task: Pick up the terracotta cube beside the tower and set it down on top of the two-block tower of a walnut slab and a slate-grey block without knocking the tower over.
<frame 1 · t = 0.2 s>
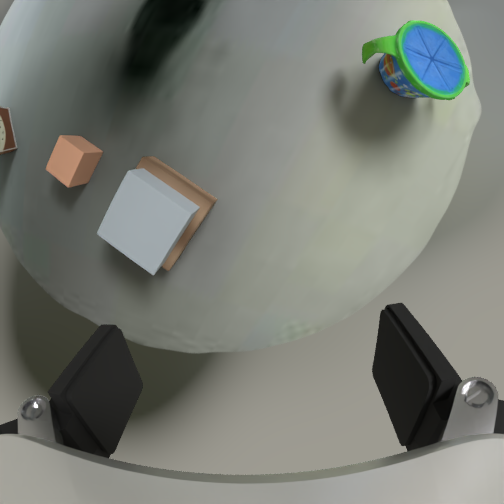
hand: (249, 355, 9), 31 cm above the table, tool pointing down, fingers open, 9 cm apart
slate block: (153, 216, 36), point 4 cm above the table, touching walnut slab
walnut slab: (165, 209, 40), on the table, touching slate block
terracotta cube: (84, 159, 37), on the table
food container: (5, 135, 35), on the table
snack cup: (400, 75, 32), on the table
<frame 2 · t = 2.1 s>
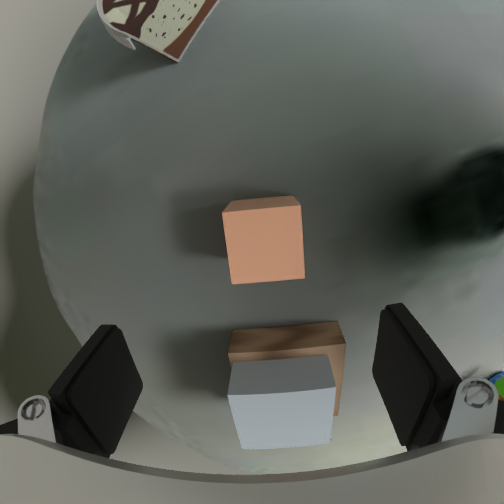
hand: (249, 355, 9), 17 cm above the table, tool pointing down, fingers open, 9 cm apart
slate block: (282, 391, 27), point 4 cm above the table, touching walnut slab
walnut slab: (287, 362, 31), on the table, touching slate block
terracotta cube: (265, 227, 26), on the table
food container: (176, 16, 20), on the table
snack cup: (490, 385, 33), on the table
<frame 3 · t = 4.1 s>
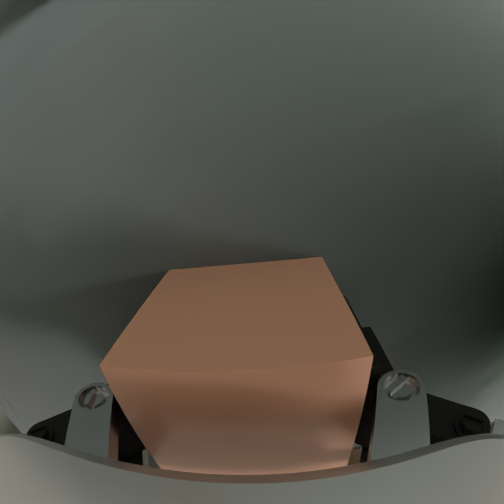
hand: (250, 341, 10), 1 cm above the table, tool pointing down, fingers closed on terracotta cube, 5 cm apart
terracotta cube: (251, 329, 11), on the table, touching gripper
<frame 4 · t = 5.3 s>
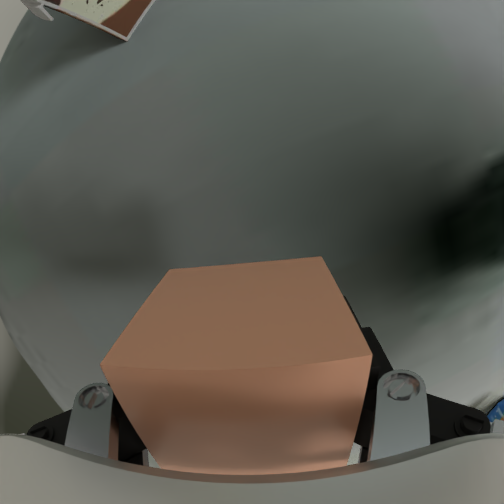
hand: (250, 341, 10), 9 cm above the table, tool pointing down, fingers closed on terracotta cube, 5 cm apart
terracotta cube: (251, 328, 11), point 8 cm above the table, touching gripper
snack cup: (497, 408, 28), on the table
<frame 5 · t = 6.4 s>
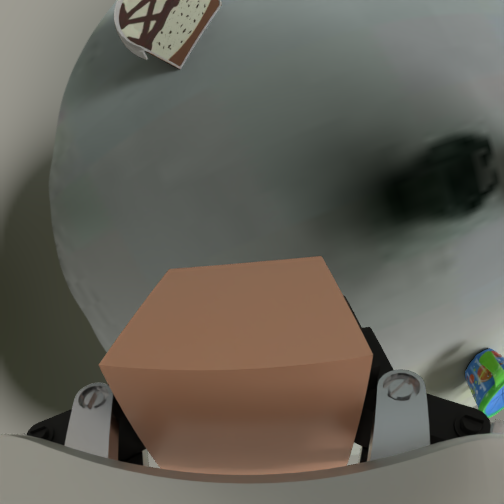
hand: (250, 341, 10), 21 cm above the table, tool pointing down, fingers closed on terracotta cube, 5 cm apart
terracotta cube: (251, 328, 11), point 21 cm above the table, touching gripper
food container: (178, 29, 24), on the table
snack cup: (478, 362, 37), on the table
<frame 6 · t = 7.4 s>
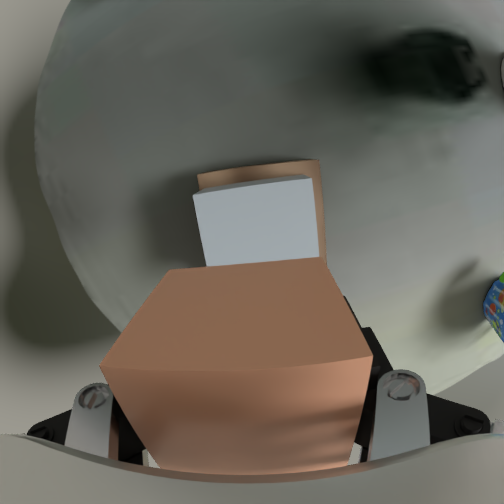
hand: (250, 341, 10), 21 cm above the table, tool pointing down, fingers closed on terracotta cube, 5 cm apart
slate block: (260, 229, 27), point 4 cm above the table, touching walnut slab
walnut slab: (264, 215, 31), on the table, touching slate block
terracotta cube: (251, 329, 11), point 21 cm above the table, touching gripper
snack cup: (496, 296, 33), on the table
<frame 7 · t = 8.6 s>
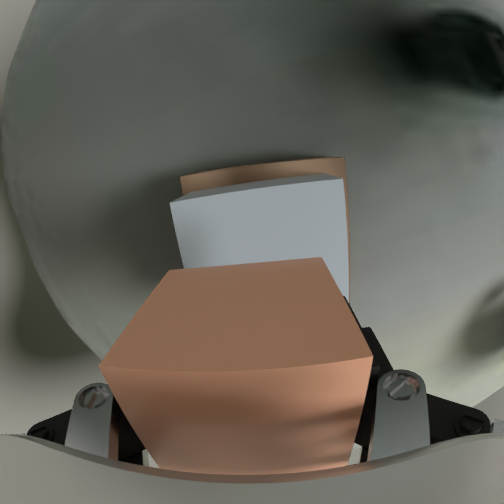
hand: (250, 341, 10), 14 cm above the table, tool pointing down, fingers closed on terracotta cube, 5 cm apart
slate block: (266, 246, 20), point 4 cm above the table, touching walnut slab
walnut slab: (270, 228, 24), on the table, touching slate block
terracotta cube: (251, 329, 11), point 14 cm above the table, touching gripper
when the fingers open (11 cm above the table, at t = 10.1 s): terracotta cube drops 2 cm, point 9 cm above the table.
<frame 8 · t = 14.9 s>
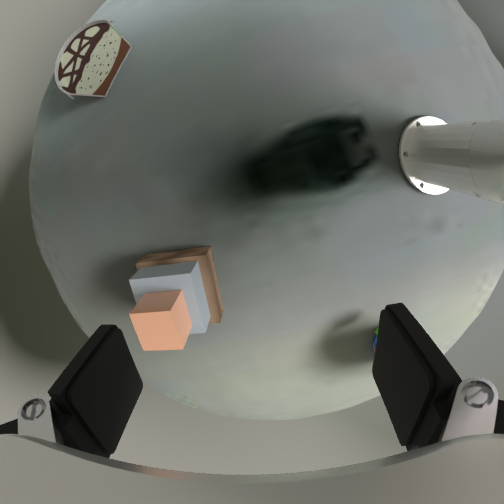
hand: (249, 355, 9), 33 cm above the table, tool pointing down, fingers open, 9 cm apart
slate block: (175, 292, 42), point 4 cm above the table, touching walnut slab
walnut slab: (184, 281, 46), on the table, touching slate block
terracotta cube: (168, 309, 37), point 9 cm above the table
food container: (105, 67, 35), on the table
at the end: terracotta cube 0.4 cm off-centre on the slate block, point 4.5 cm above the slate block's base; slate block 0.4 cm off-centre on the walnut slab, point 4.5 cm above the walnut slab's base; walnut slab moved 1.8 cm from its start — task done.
